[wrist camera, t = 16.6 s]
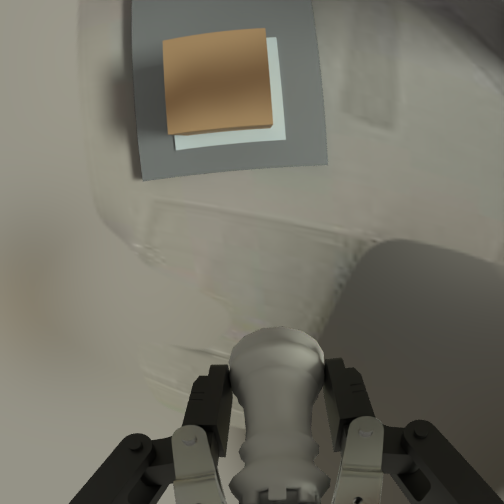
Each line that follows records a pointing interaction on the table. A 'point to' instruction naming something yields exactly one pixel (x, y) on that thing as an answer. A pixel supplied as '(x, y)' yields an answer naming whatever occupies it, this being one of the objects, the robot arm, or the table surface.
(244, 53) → the walnut block
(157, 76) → the board
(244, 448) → the rook chess piece
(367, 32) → the table surface
